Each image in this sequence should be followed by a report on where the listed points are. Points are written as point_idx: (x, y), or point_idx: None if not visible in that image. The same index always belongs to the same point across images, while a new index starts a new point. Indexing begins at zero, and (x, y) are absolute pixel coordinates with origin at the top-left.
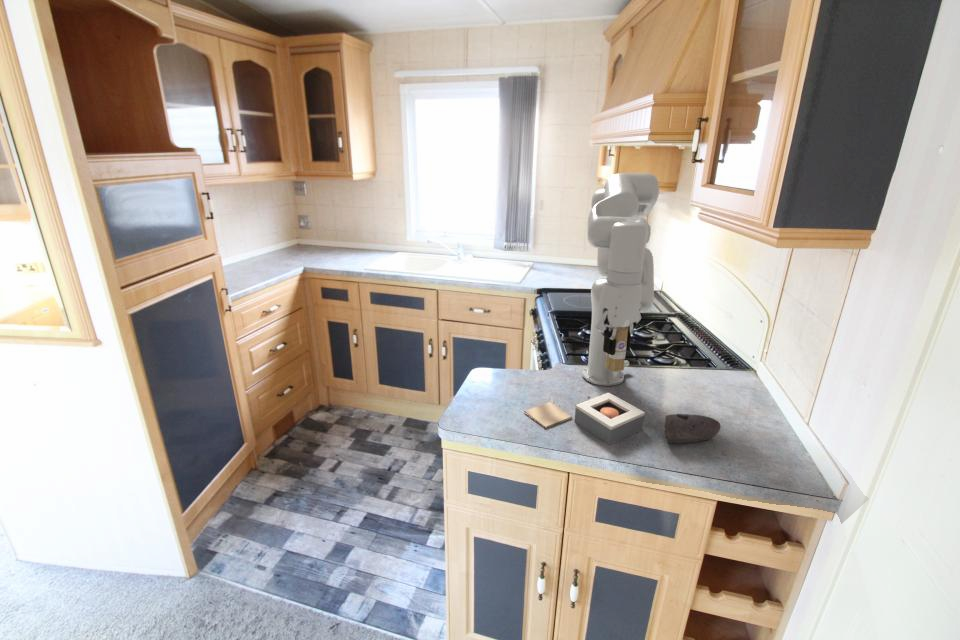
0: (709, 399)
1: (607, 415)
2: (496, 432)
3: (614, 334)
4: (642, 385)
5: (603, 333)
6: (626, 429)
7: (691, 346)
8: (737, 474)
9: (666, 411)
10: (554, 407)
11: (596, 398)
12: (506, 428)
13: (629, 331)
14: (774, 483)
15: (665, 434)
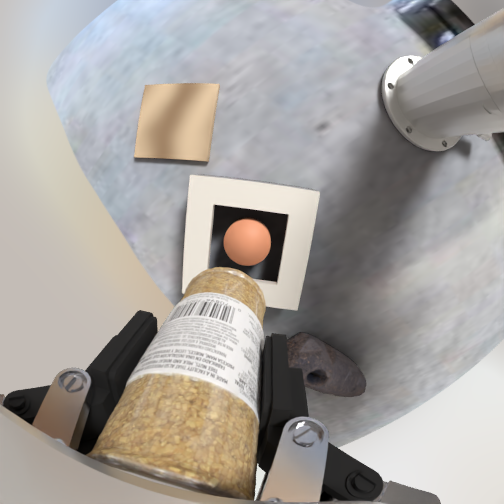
0: (465, 308)
1: (229, 249)
2: (73, 119)
3: None
4: (452, 193)
5: (39, 399)
6: None
7: None
8: None
9: (391, 284)
10: (206, 108)
11: (263, 189)
12: (89, 117)
13: (263, 479)
14: None
15: (289, 341)
